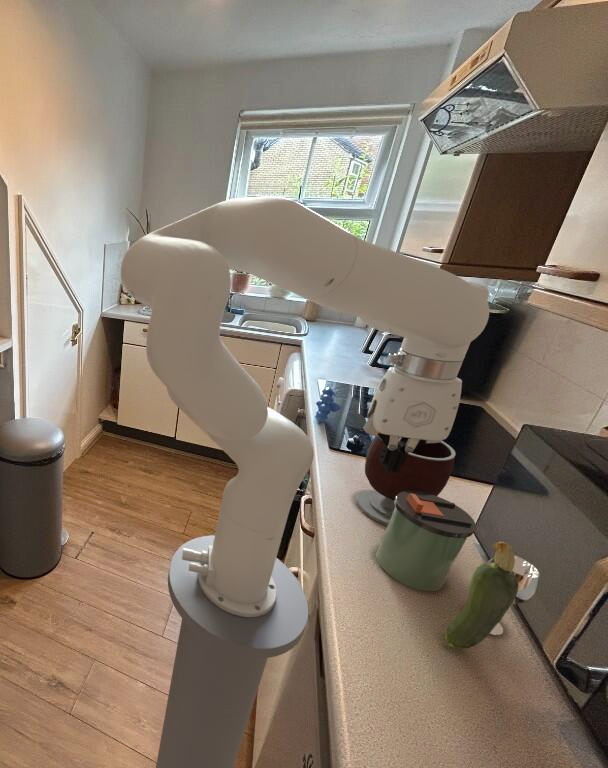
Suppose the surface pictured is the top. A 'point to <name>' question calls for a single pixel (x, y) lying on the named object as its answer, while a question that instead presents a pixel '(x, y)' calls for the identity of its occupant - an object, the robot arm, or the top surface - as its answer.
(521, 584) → the wineglass
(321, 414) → the grapes
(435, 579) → the travel mug
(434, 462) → the mate gourd
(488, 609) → the vegetable
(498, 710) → the top surface
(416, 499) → the shutter
